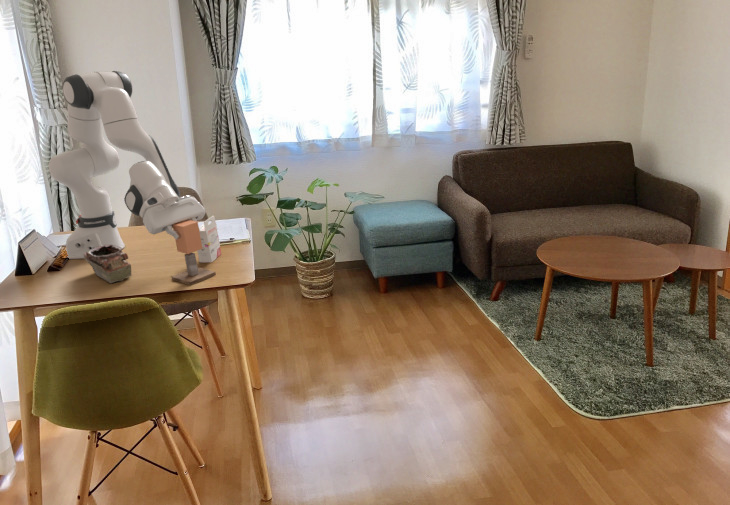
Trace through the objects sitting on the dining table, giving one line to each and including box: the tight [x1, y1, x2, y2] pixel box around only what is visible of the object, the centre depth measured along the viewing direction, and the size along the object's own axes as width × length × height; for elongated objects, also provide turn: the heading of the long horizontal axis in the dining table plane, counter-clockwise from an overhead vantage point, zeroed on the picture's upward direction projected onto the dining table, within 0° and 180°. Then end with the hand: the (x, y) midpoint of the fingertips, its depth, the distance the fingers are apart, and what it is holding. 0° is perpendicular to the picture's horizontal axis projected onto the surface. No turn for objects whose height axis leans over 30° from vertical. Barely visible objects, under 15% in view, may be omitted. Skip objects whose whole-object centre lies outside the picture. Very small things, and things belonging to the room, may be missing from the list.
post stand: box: [171, 252, 217, 286], centre depth 203 cm, size 10×10×8 cm
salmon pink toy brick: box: [172, 220, 202, 254], centre depth 199 cm, size 6×6×9 cm
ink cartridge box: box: [196, 215, 222, 263], centre depth 218 cm, size 9×5×15 cm, turn 168°
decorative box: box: [83, 245, 132, 284], centre depth 209 cm, size 13×20×10 cm, turn 37°
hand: (188, 234), depth 198 cm, fingers closed on salmon pink toy brick, 6 cm apart
